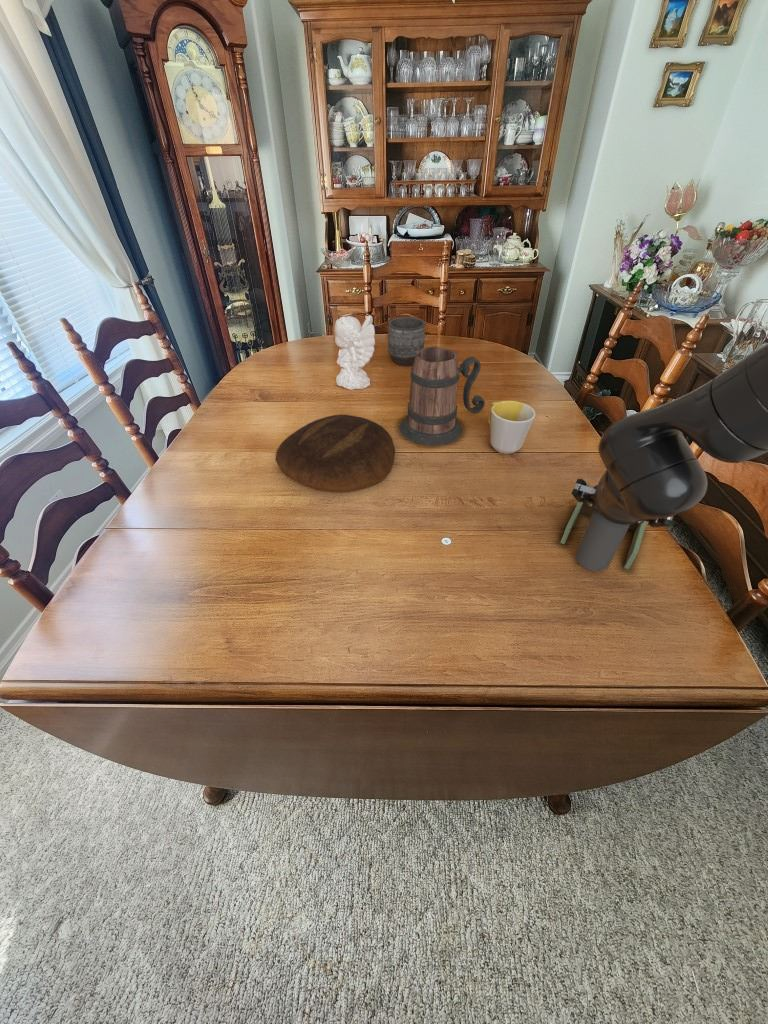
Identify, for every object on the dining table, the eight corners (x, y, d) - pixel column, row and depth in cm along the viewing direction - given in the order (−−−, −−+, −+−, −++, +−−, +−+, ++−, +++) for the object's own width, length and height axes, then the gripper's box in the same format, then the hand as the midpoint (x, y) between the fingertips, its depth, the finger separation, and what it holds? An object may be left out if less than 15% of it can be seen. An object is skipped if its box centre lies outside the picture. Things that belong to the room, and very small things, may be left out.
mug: (532, 457, 104) (543, 419, 97) (492, 461, 103) (499, 423, 96) (512, 428, 114) (520, 392, 107) (475, 431, 113) (481, 395, 106)
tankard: (414, 450, 107) (417, 374, 93) (390, 418, 119) (390, 346, 105) (496, 433, 113) (510, 358, 99) (466, 404, 124) (475, 334, 111)
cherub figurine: (336, 372, 141) (331, 308, 128) (374, 371, 142) (372, 307, 128) (335, 391, 131) (329, 323, 118) (376, 389, 132) (374, 322, 118)
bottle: (614, 571, 76) (648, 508, 66) (580, 571, 76) (610, 508, 66) (601, 547, 80) (632, 484, 70) (570, 547, 80) (596, 484, 70)
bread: (417, 452, 106) (418, 421, 100) (351, 514, 89) (349, 481, 84) (328, 420, 118) (324, 391, 112) (255, 470, 101) (247, 438, 95)
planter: (430, 360, 148) (432, 321, 139) (408, 371, 141) (409, 332, 133) (403, 351, 154) (404, 314, 145) (380, 361, 147) (380, 323, 139)
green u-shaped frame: (639, 531, 85) (649, 514, 82) (628, 569, 78) (638, 553, 75) (576, 508, 90) (582, 492, 87) (560, 543, 83) (566, 526, 80)
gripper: (701, 485, 54) (670, 504, 69) (583, 450, 59) (579, 475, 75) (677, 540, 54) (652, 547, 69) (561, 500, 60) (562, 515, 75)
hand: (614, 510), depth 72 cm, fingers closed on bottle, 5 cm apart
